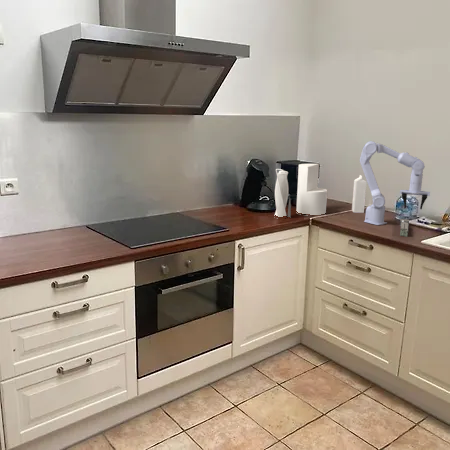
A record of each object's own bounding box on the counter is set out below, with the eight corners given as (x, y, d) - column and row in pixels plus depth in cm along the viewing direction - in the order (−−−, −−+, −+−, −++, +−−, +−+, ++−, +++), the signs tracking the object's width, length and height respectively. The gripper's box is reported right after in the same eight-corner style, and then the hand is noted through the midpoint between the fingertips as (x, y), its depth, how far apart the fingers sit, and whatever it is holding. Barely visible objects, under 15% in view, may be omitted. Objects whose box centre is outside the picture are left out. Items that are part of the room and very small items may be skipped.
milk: (361, 210, 279) (364, 174, 274) (364, 213, 273) (367, 176, 268) (351, 210, 279) (354, 174, 274) (353, 212, 273) (356, 175, 268)
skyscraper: (278, 220, 254) (280, 169, 247) (270, 217, 261) (272, 168, 254) (291, 219, 257) (293, 169, 250) (283, 216, 264) (285, 167, 257)
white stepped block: (291, 213, 270) (293, 165, 263) (302, 208, 284) (305, 163, 277) (319, 217, 261) (322, 168, 254) (329, 211, 275) (333, 165, 268)
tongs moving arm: (400, 225, 243) (401, 221, 242) (406, 226, 242) (407, 221, 241) (400, 235, 224) (400, 230, 223) (406, 236, 223) (406, 231, 222)
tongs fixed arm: (399, 224, 246) (400, 219, 245) (408, 225, 244) (409, 219, 244) (398, 235, 224) (399, 229, 223) (408, 236, 222) (409, 230, 222)
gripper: (400, 182, 237) (398, 208, 240) (431, 184, 232) (428, 211, 235) (401, 181, 243) (398, 206, 247) (430, 182, 238) (427, 208, 241)
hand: (413, 208), depth 241 cm, fingers open, 7 cm apart
